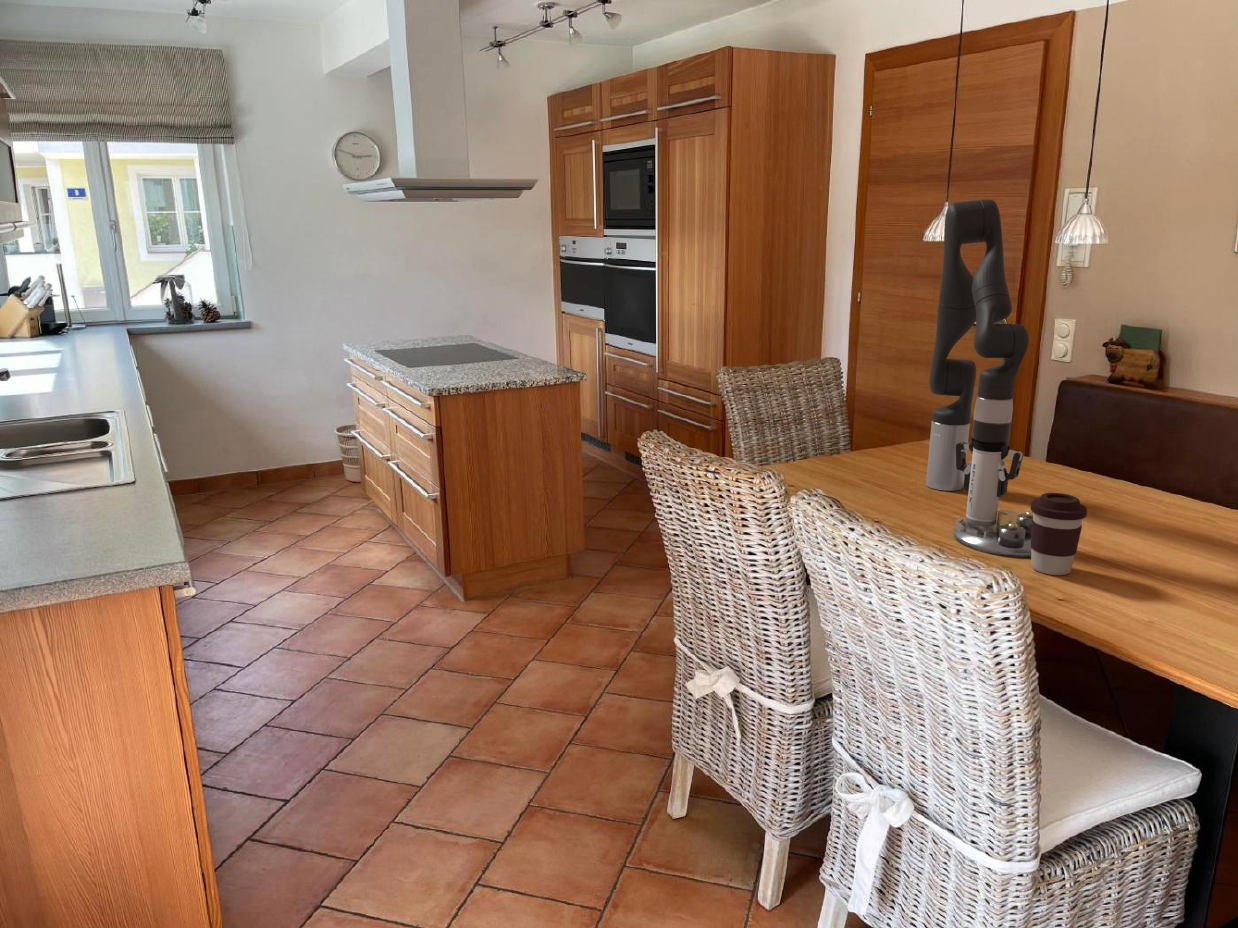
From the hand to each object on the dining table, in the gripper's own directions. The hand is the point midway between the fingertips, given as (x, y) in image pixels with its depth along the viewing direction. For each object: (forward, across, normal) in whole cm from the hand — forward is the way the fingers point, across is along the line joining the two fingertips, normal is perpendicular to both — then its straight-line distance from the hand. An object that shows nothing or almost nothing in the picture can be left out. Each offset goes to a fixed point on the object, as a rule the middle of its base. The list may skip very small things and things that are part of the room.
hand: (984, 493), depth 196 cm
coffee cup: (+10, -18, +11) cm, 24 cm away
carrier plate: (+10, -6, 0) cm, 11 cm away
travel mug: (+7, 0, 0) cm, 7 cm away
